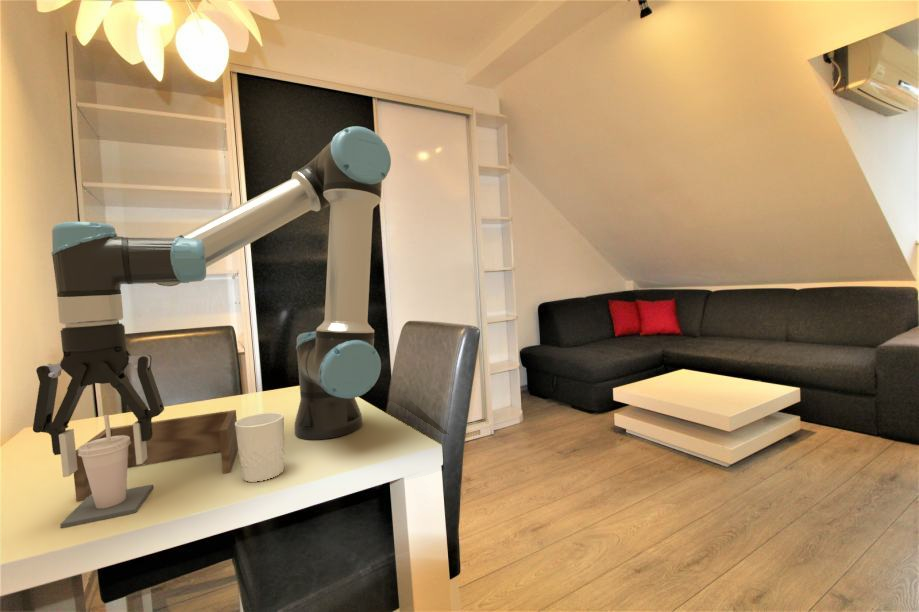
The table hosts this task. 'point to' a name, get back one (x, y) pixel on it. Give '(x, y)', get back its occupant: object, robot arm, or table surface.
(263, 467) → the white cup
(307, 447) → the table surface
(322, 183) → the robot arm
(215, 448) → the wooden enclosure
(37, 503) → the table surface
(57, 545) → the table surface
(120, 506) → the mat
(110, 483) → the smoothie
